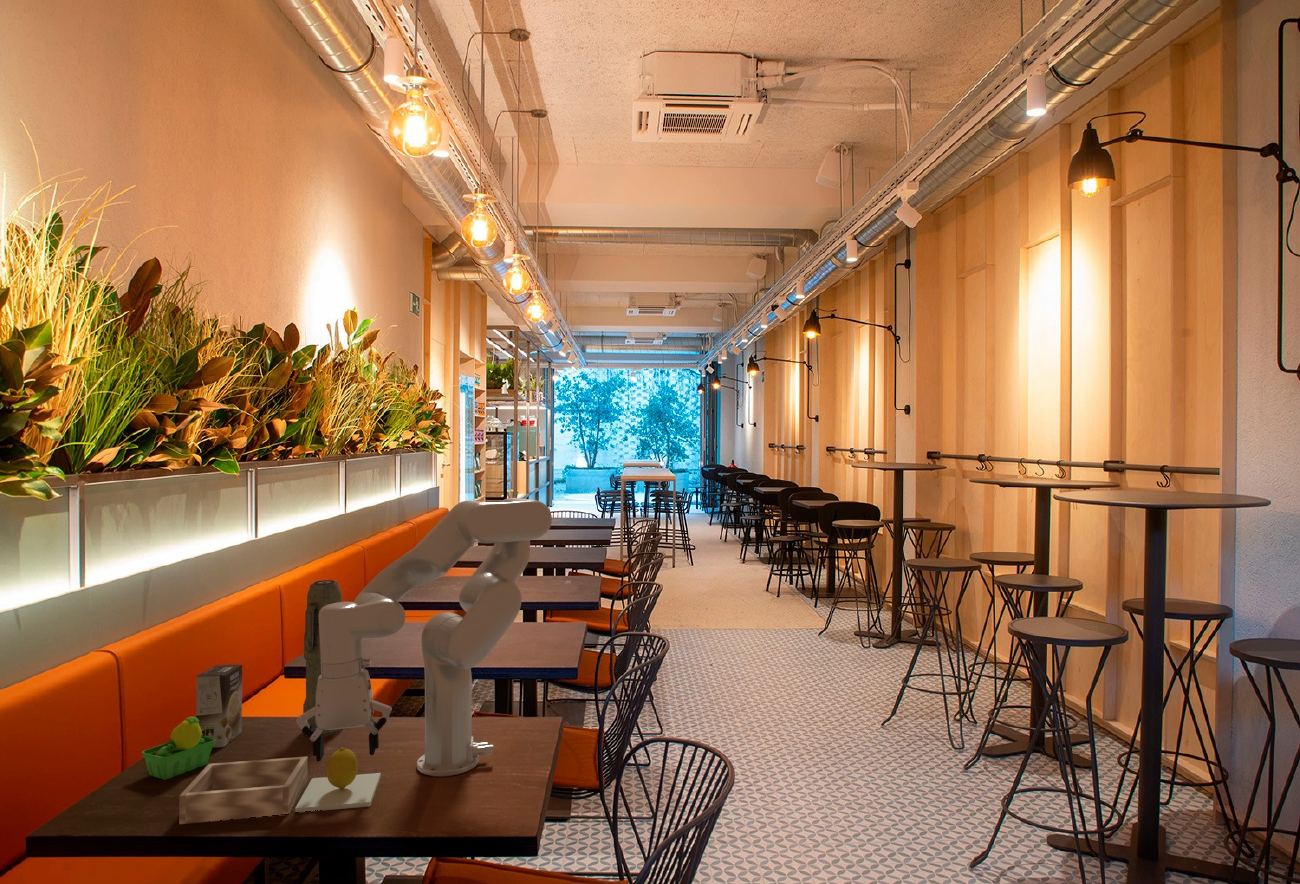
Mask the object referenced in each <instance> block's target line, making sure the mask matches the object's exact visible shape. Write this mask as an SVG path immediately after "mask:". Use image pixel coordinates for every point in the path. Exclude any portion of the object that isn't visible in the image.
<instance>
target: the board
mask: <svg viewBox="0 0 1300 884" xmlns="http://www.w3.org/2000/svg"><path fill="white" fill-rule="evenodd" d="M381 774H382V773H381V772H374V773H362V774H356V777H355V779H354V780H353V782H352V783H351V784H349V785H348V786H346V787H345V788H344V789H343V790H341V789H339V788H338V787H335V786H333V785H332V784H331V783H330V782H329V780H328V778H327V776H324V777H313V778H311V780H310V781H309V783H308V785H307V787H306V789H305V790H304V792H303V793H302V796H301V797H300V799H299V801H298V803H297V805H296V806H295V807H294V813H295V812H299V813H306V812H305V811H311V812H321V811H320V810H322V811H330V810H332V811H333V810H342V809H355V808H356V809H357V808H366V807H367V808H368V807H371V804H372V802H373V799H374V797H375V794H376V791H377V788H378V786H379V782H380V780H381V777H382V775H381ZM315 810H316V811H315ZM317 810H318V811H317Z"/></svg>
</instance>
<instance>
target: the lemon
mask: <svg viewBox="0 0 1300 884" xmlns="http://www.w3.org/2000/svg"><path fill="white" fill-rule="evenodd" d="M358 765H359V764H358V759H357V756H356V754H355V753H354V751H352V750H351V749H348V748H345V747H340V748H339V749H338V750H336V751H335V752H333V753H332V754H331V755H330V757H329V758H328V762H327V766H326V777H327V778H328V780H329V782H330V783H331V784H332V785H333V786H335V787H338V788H339V789H341V790H343V789H344V788H345V787H346V786H348V785H349V784H351V783H352V782H353V780H354V779H355V777H356V775H358V774H357V773H358V770H359V769H358V767H359V766H358Z"/></svg>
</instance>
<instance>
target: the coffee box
mask: <svg viewBox="0 0 1300 884" xmlns="http://www.w3.org/2000/svg"><path fill="white" fill-rule="evenodd" d="M195 689H196V691H195V692H196V694H195V695H196V696H195V697H196V698H195V699H196V700H195V701H196V703H195V705H196V706H195V709H196V710H195V717H196V718H197V719H198V720H199V726H200V728H201V731H202V736H206V737H209V738H212V739H215V742H214V745H213V747H212V748H224V747H226V746H227V745H228V744H230V743H231V742H232V741H234V740H235V739H236V738H237V737H238V736H239V735H240V734H242V733H243V732H242V731H243V730H242V728H243V726H242V723H243V720H242V718H243V716H242V715H243V664H223V665H222V664H221V665H214V666H212V667H210V668H208V669H206V670H205V671H203V672H201V673H199V674H198V675H196V688H195ZM230 741H231V742H230ZM229 742H230V743H229Z"/></svg>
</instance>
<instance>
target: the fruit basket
mask: <svg viewBox="0 0 1300 884" xmlns="http://www.w3.org/2000/svg"><path fill="white" fill-rule="evenodd" d="M170 739H171V741H167V742H165V743H163V744H160V745H157V746H153V747H151V748H150V747H149V748H148V749H144V750H143V751H141V755H142V756H143V758H144V761H145V764H146V768H147V770H148V774H149V776H151V777H155V778H157V779H162V780H165V781H166V780H169V779H172V778H173V777H176V776H179V775H182V774H185V773H186V772H190V771H193V770H195V769H197V768H201V767H204V766H207V765H208V764H209V763H208V762H209V759H210V756H211V752H212V749H213V748H214V747H213V745H214V742H215V739H212V738H209V737H206V736H202V731H201V728H200V726H199V720H198V719H197V718H196V716H189V717H186V718H185V720H183V721H181V722H180V723H179V724H178V725H177V726H176V727H175V728H173V729H172V731H171V734H170Z"/></svg>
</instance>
